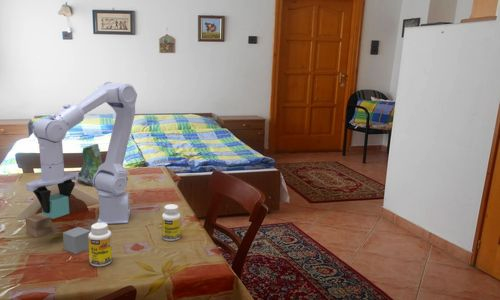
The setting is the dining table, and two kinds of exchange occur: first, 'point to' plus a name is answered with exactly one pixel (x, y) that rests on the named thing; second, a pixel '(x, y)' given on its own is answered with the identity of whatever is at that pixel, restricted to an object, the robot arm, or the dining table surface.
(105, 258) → the supplement bottle
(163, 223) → the supplement bottle
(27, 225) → the tan cube
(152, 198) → the dining table surface
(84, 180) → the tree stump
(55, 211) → the teal block
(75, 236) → the slate block
